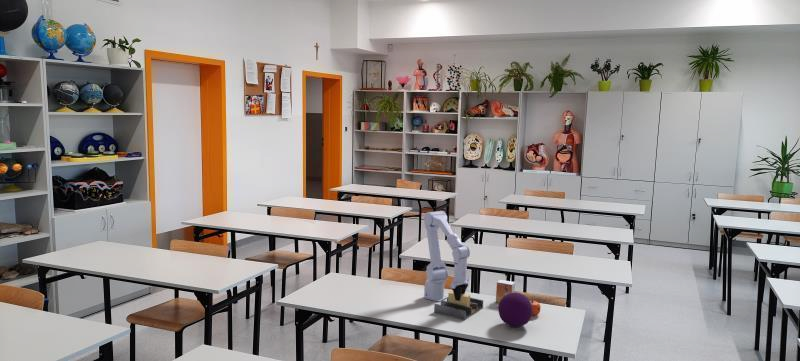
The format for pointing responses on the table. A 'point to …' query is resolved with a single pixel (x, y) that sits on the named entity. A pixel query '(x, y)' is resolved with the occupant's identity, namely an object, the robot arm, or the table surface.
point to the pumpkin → (535, 307)
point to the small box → (504, 289)
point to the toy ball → (515, 309)
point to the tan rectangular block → (463, 300)
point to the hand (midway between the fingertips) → (459, 299)
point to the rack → (458, 308)
